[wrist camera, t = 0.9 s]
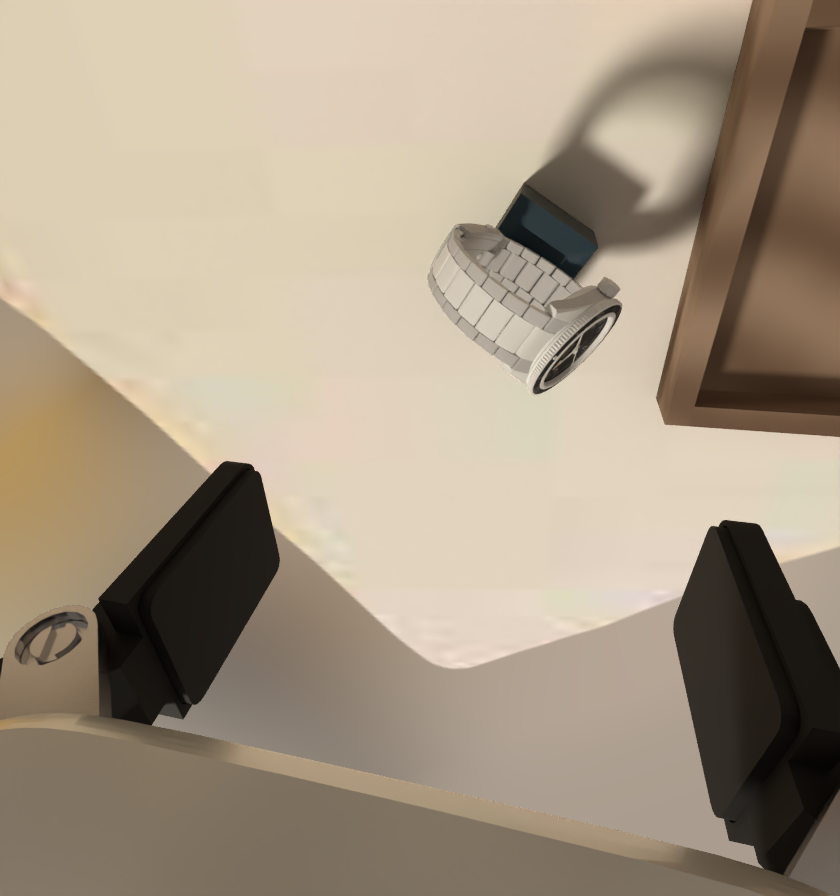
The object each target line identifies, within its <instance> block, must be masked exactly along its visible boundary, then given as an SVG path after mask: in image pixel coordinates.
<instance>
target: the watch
mask: <svg viewBox="0 0 840 896" xmlns="http://www.w3.org/2000/svg"><path fill="white" fill-rule="evenodd" d="M597 248H598V245H597V241H596V238H595V234H594V232H593V231H592V230H591V229H589V228H588V227H586V226H585V225H583V224H582V223H581V222H579V221H578V220H576V219H575V218H574V217H572V216H571V215H569V214H568V213H566V212H565V211H564V210H562V209H561V208H559V207H558V206H556V205H555V204H554V203H552V202H551V201H549V200H548V199H547V198H545V197H544V196H542V195H541V194H539V193H538V192H537V191H535V190H534V189H532V188H531V187H529V186H528V185H527V184H525V183H524V184H523V185H522V187H521V188H520V190H519V191H518V193H517V195H516V196H515V198H514V199H513V201H512V203H511V204H510V206H509V207H508V209H507V210H506V212H505V214H504V215H503V217H502V218H501V220H500V221H499V223H498V225H497V226H496V228H494V227H492V226H491V225H486V226H484V225H479V224H458V225H455V226H454V227H453V229H452V230H451V232H450V233H449V235H448V236H447V238H446V239H445V241H444V243H443V244H442V246H441V247H440V249H439V251H438V253H437V255H436V256H435V258H434V260H433V262H432V265H431V267H430V272H429V274H428V284H429V288H430V290H431V292H432V294H433V297H434V298H435V300H436V302H437V303H438V305H439V306H440V307H441V308H442V311H443V312H444V313H445V315H446V316H447V317H448V318H449V319H450V321H451V322H452V323H453V324H454V325H456V326H457V327H458V329H459V330H461V331H462V332H463V333H464V334H465V335H466V336H467V337H468V338H469V339H470V340H472V341H474V342H475V343H476V344H477V345H478V346H479V347H481V348H482V349H483V350H485V351H486V352H487V353H489V354H490V355H493V354H494V357H495V358H497V359H498V360H500V361H501V362H503V363H502V364H501V366H500V367H501V368H502V369H503V370H504V371H505V372H507V373H508V374H509V375H511V376H512V377H513V378H515V379H516V380H518V381H519V382H521V383H522V384H523V385H525V386H526V387H527V390H528V391H529V392H530V393H531V394H532V395H538V394H541V393H543V392H545V391H547V390H549V389H550V388H552V387H553V386H555V385H556V384H558V383H559V382H560V381H562V380H563V379H564V378H565V377H567V376H568V375H569V374H570V373H571V372H572V371H573V370H575V369H576V368H577V367H578V366H579V365H580V364H581V363H582V362H583V361H584V360H585V359H586V358H587V357H588V356H589V355H590V354H591V353H592V352H593V351H594V350H595V348H596V347H597V346H598V345H599V344H600V343H601V342H602V340H603V339H604V338H605V337H606V335H607V334H608V333H609V331H610V330H611V329H612V327H613V326H614V324H615V322H616V321H617V319H618V317H619V315H620V313H621V310H622V303H621V302H619V301H618V300H617V299H613V297H614V296H615V295H616V294H617V293H618V292H619V290H620V288H619V287H618V285H617V284H616V283H614V282H613V281H612V280H610V279H608V278H606V277H604V278H603V279H602V280H601V282H600V283H599V284H598V285H597V286H598V287H596V286H587V287H584V288H582V287H581V286H580V285H579V284H578V283H577V282H575V281H574V280H573V279H574V278H575V276H576V275H577V274H578V272H579V271H580V270H581V269H582V267H583V266H584V265H585V263H586V262H587V261H588V260H589V258H590V257H591V256H592V254H593V253H594V252H595V251H596V249H597ZM483 314H484V315H483ZM482 315H483V316H482ZM480 318H481V319H480ZM478 321H479V322H478ZM476 324H477V325H476ZM504 327H505V328H504ZM501 331H502V332H501ZM479 332H480V333H479ZM499 334H500V335H499ZM477 335H478V336H477ZM498 335H499V336H498ZM475 338H476V339H475ZM496 338H497V339H496ZM474 339H475V340H474ZM495 339H496V340H495ZM498 347H499V348H498ZM495 351H496V352H495Z"/></svg>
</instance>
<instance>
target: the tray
mask: <svg viewBox="0 0 840 896" xmlns="http://www.w3.org/2000/svg"><path fill="white" fill-rule="evenodd" d="M656 399H657V402H658V405H659V408H660V411H661V414H662V417H663V420H664V423H665V425H680V426H694V427H708V428H722V429H736V430H750V431H764V432H779V433H793V434H807V435H821V436H835V437H840V0H753V1H752V6H751V10H750V14H749V18H748V22H747V26H746V30H745V34H744V39H743V43H742V47H741V51H740V55H739V59H738V63H737V67H736V71H735V76H734V80H733V84H732V88H731V92H730V96H729V100H728V104H727V108H726V113H725V117H724V121H723V125H722V129H721V133H720V137H719V141H718V146H717V150H716V154H715V158H714V162H713V166H712V170H711V174H710V178H709V183H708V187H707V191H706V195H705V199H704V203H703V207H702V211H701V216H700V220H699V224H698V228H697V232H696V236H695V240H694V244H693V248H692V253H691V257H690V261H689V265H688V269H687V273H686V277H685V281H684V286H683V290H682V294H681V298H680V302H679V306H678V310H677V314H676V318H675V323H674V327H673V331H672V335H671V339H670V343H669V347H668V351H667V356H666V360H665V364H664V368H663V372H662V376H661V380H660V384H659V388H658V393H657V397H656Z"/></svg>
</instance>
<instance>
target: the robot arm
mask: <svg viewBox="0 0 840 896" xmlns="http://www.w3.org/2000/svg"><path fill="white" fill-rule="evenodd" d="M279 562H280V557H279V553H278V548H277V544H276V539H275V535H274V530H273V526H272V522H271V517H270V513H269V509H268V504H267V500H266V496H265V491H264V487H263V483H262V478H261V475H260V473H259V472H258V471H255V470H254V467H253V466H252V465H251V464H247V463H239V462H230V461H226V462H223V463H222V464H220V466H219V467H218V468H217V469H216V470H215V471H214V472H213V473H212V474H211V475H210V477H209V478H208V479H207V480H206V481H205V482H204V483H203V484H202V485H201V487H200V488H199V489H198V490H197V491H196V492H195V493H194V494H193V495H192V496H191V498H190V499H189V500H188V501H187V502H186V503H185V504H184V505H183V506H182V507H181V509H179V511H178V512H177V513H176V514H175V515H174V516H173V517H172V518H171V519H170V520H169V522H168V523H167V524H166V525H165V526H164V527H163V528H162V529H161V530H160V532H159V533H158V534H157V535H156V536H155V537H154V538H153V539H152V540H151V541H150V543H149V544H148V545H147V546H146V547H145V548H144V549H143V550H142V551H141V552H140V553H139V555H138V556H137V557H136V558H135V559H134V560H133V561H132V562H131V564H129V565H128V567H127V568H126V569H125V570H124V571H123V572H122V573H121V574H120V575H119V576H118V578H117V579H116V580H115V581H114V582H113V583H112V584H111V585H110V586H109V588H108V589H107V590H106V591H105V592H104V593H103V594H102V595H101V596H100V597H99V601H100V602H99V603H98V604H97V605H96V606H95V608H94V609H93V610H91V609H90V608H88V607H84V606H81V605H69V606H68V605H67V606H63V607H59V608H55V609H52V610H50V611H48V612H45V613H43V614H41V615H39V616H37V617H36V618H34V619H33V620H31V621H29V622H28V623H26V624H25V625H24V626H23V627H22V628H21V629H20V630H19V631H18V632H16V633H15V635H14V636H13V638H12V639H11V640H10V642H9V643H8V645H7V647H6V650H5V653H4V657H3V658H1V659H0V896H840V668H839V667H838V664H837V662H836V660H835V658H834V656H833V654H832V652H831V650H830V648H829V646H828V644H827V642H826V640H825V638H824V636H823V634H822V632H821V630H820V628H819V626H818V624H817V622H816V620H815V618H814V616H813V614H812V612H811V611H810V609H809V608H808V606H807V605H806V604H805V603H803V602H802V601H800V600H795V597H794V595H793V593H792V591H791V589H790V587H789V585H788V583H787V581H786V578H785V577H784V574H783V572H782V570H781V568H780V566H779V564H778V562H777V559H776V557H775V555H774V553H773V551H772V549H771V547H770V545H769V543H768V541H767V538H766V536H765V534H764V532H763V530H762V528H761V527H760V525H758V524H755V523H746V522H738V521H729V520H724V521H722V522H721V523H720V525H719V527H716V526H711V527H710V528H709V530H708V532H707V535H706V537H705V540H704V542H703V545H702V548H701V550H700V553H699V555H698V558H697V561H696V563H695V566H694V568H693V571H692V574H691V576H690V579H689V581H688V584H687V587H686V589H685V592H684V594H683V597H682V600H681V602H680V605H679V607H678V610H677V613H676V615H675V619H674V637H675V642H676V647H677V651H678V656H679V660H680V665H681V670H682V674H683V679H684V683H685V688H686V693H687V697H688V702H689V706H690V711H691V715H692V720H693V724H694V729H695V733H696V738H697V743H698V748H699V752H700V757H701V761H702V766H703V771H704V775H705V780H706V784H707V789H708V793H709V798H710V803H711V806H712V810H713V812H714V814H715V815H716V817H718V818H723V819H724V821H725V825H726V829H727V834H728V838H729V841H733V842H737V843H742V844H746V845H751V846H754V848H755V852H756V856H757V860H758V863H759V864H760V865H761V866H762V867H763V868H764V869H762V868H759V867H756V866H752V865H749V864H745V863H742V862H739V861H735V860H732V859H729V858H725V857H722V856H718V855H715V854H711V853H707V852H703V851H699V850H694V849H691V848H686V847H683V846H679V845H675V844H671V843H666V842H663V841H658V840H655V839H651V838H647V837H643V836H638V835H634V834H630V833H627V832H623V831H619V830H614V829H610V828H606V827H602V826H597V825H593V824H588V823H584V822H580V821H575V820H571V819H567V818H563V817H558V816H554V815H549V814H545V813H541V812H537V811H532V810H528V809H524V808H520V807H515V806H511V805H507V804H502V803H498V802H494V801H489V800H485V799H481V798H476V797H472V796H468V795H463V794H459V793H454V792H450V791H445V790H441V789H437V788H433V787H428V786H424V785H419V784H415V783H411V782H406V781H402V780H397V779H393V778H389V777H384V776H380V775H375V774H371V773H366V772H362V771H357V770H353V769H348V768H344V767H340V766H335V765H331V764H327V763H322V762H318V761H313V760H309V759H304V758H300V757H295V756H291V755H286V754H282V753H277V752H272V751H268V750H263V749H259V748H254V747H250V746H245V745H241V744H236V743H231V742H227V741H223V740H218V739H213V738H209V737H204V736H200V735H196V734H191V733H186V732H181V731H175V730H171V729H166V728H161V727H156V726H152V724H153V722H154V721H155V719H156V717H157V716H158V714H161V715H165V716H170V717H174V718H179V719H184V717H185V716H186V714H187V712H188V711H189V709H190V707H191V706H192V704H193V705H195V704H198V703H199V702H200V701H201V700H202V698H203V697H204V695H205V694H206V692H207V690H208V689H209V687H210V685H211V683H212V682H213V680H214V678H215V677H216V675H217V673H218V671H219V670H220V668H221V666H222V665H223V663H224V661H225V660H226V658H227V656H228V654H229V653H230V651H231V649H232V648H233V646H234V644H235V642H236V641H237V639H238V637H239V636H240V634H241V632H242V630H243V629H244V627H245V625H246V624H247V622H248V620H249V619H250V617H251V615H252V614H253V612H254V610H255V608H256V607H257V605H258V603H259V601H260V600H261V598H262V596H263V595H264V593H265V591H266V590H267V588H268V586H269V585H270V583H271V581H272V579H273V578H274V576H275V574H276V572H277V570H278V567H279Z"/></svg>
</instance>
